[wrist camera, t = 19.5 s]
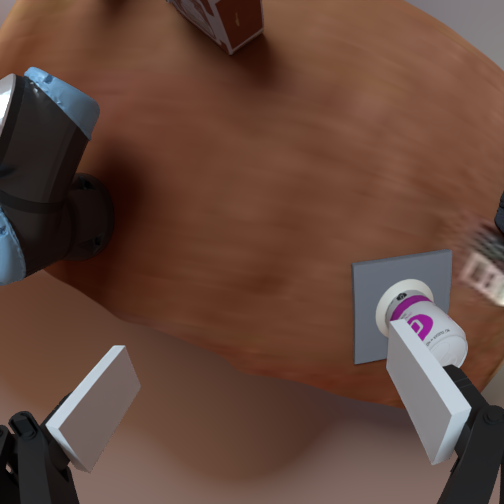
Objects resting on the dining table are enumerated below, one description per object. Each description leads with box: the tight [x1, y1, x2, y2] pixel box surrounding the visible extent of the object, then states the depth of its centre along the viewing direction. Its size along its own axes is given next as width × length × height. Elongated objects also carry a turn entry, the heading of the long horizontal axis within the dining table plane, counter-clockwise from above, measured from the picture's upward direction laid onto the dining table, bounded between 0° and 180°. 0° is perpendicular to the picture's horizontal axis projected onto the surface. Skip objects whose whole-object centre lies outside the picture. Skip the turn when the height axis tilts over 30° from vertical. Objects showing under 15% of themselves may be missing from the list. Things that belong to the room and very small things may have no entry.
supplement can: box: [385, 290, 468, 368], centre depth 38 cm, size 8×8×15 cm
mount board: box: [351, 249, 452, 364], centre depth 46 cm, size 18×18×2 cm
